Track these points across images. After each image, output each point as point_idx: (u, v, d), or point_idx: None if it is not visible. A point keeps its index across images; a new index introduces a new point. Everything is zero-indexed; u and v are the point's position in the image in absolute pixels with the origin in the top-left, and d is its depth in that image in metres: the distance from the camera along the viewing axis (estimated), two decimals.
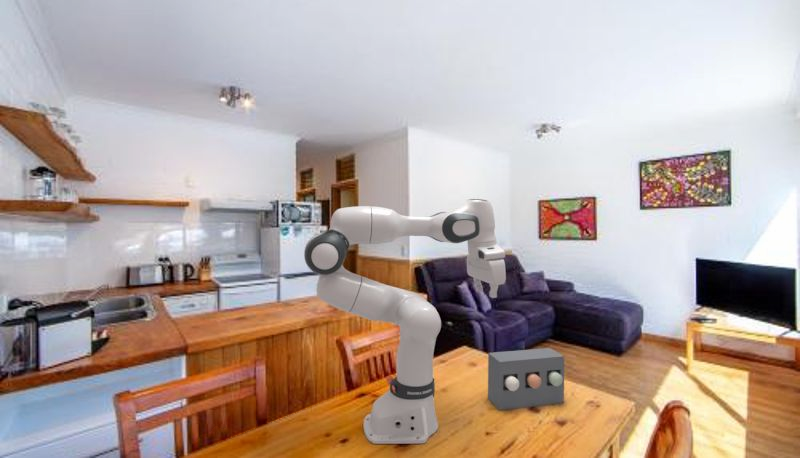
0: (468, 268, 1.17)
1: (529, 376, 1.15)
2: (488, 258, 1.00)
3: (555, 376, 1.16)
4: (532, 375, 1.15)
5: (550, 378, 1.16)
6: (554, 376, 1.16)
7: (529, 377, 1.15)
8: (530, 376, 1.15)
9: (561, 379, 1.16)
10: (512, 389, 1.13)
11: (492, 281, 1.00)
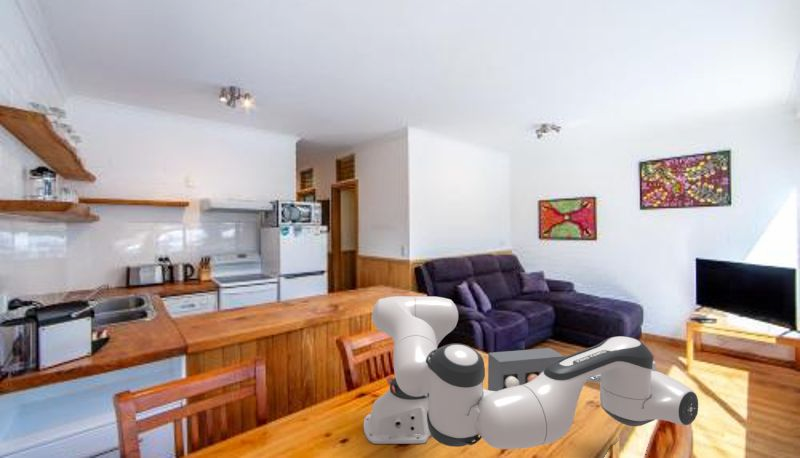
0: None
1: (529, 376, 1.15)
2: None
3: None
4: (532, 375, 1.15)
5: None
6: None
7: (529, 377, 1.15)
8: (530, 376, 1.15)
9: None
10: None
11: None
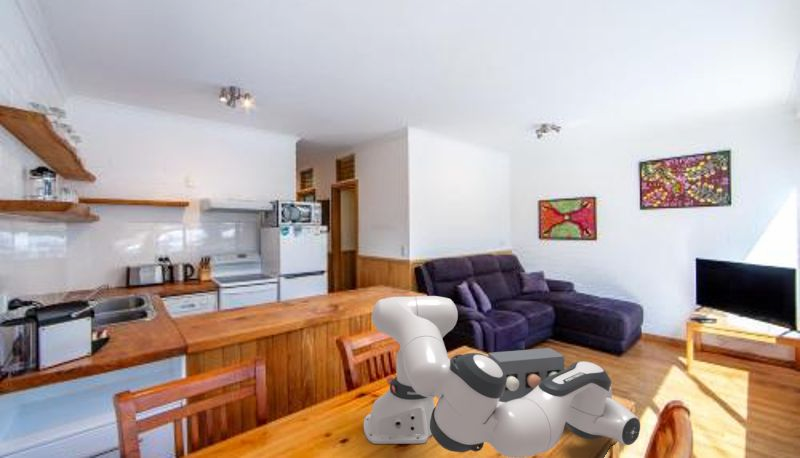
0: None
1: (529, 376, 1.15)
2: None
3: None
4: (532, 375, 1.15)
5: None
6: None
7: (529, 377, 1.15)
8: (530, 376, 1.15)
9: None
10: (512, 389, 1.13)
11: None
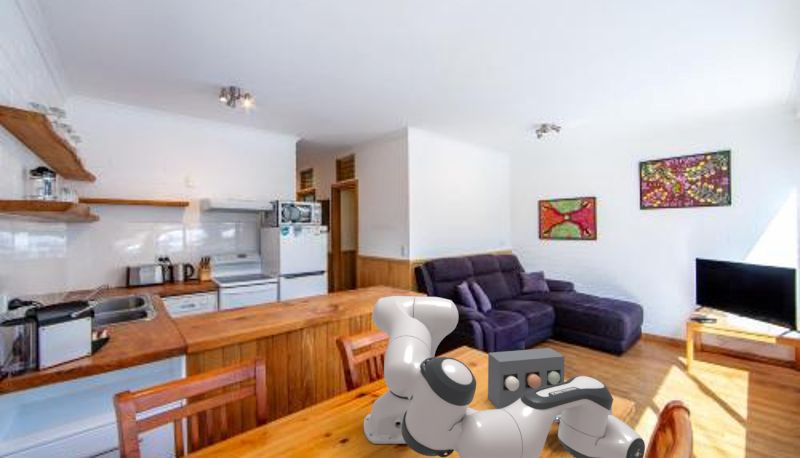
0: None
1: (529, 376, 1.15)
2: None
3: (552, 374, 1.17)
4: (532, 375, 1.15)
5: (547, 376, 1.18)
6: (551, 374, 1.17)
7: (529, 377, 1.15)
8: (530, 376, 1.15)
9: (558, 377, 1.18)
10: (512, 389, 1.13)
11: None
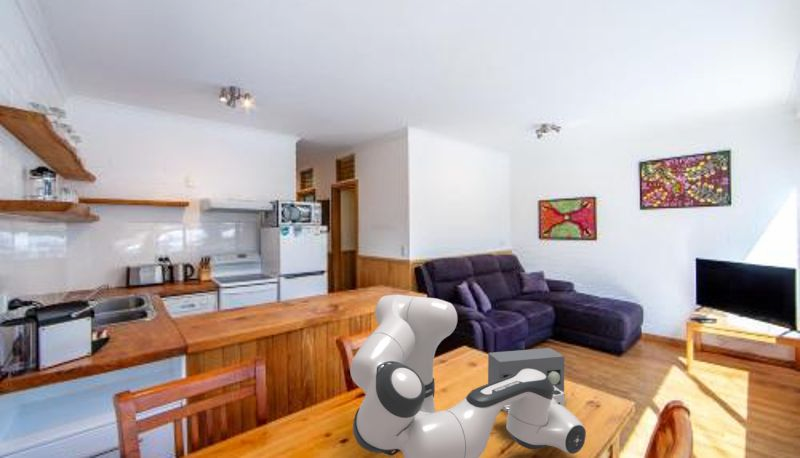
0: None
1: None
2: None
3: (552, 374, 1.17)
4: None
5: (547, 376, 1.18)
6: (551, 374, 1.17)
7: None
8: None
9: (558, 377, 1.18)
10: None
11: None
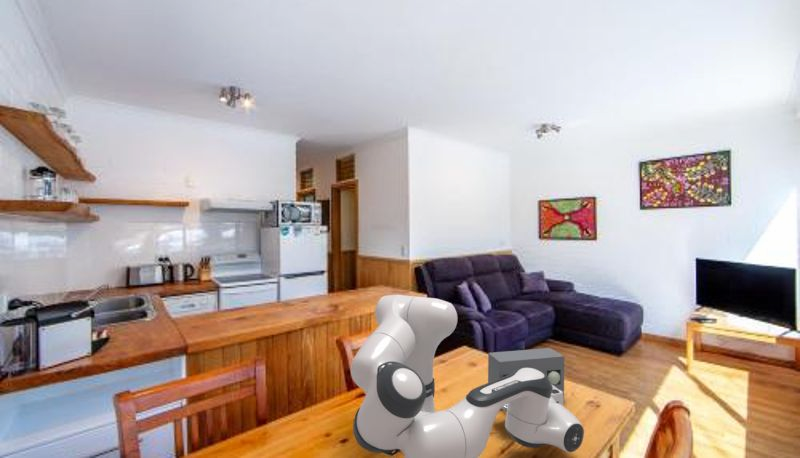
0: None
1: None
2: None
3: (552, 374, 1.17)
4: None
5: (547, 376, 1.18)
6: (551, 374, 1.17)
7: None
8: None
9: (558, 377, 1.18)
10: None
11: None
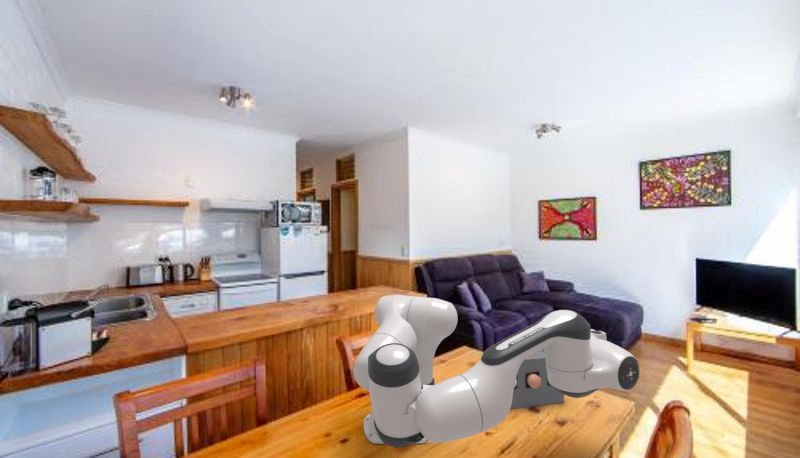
0: None
1: (529, 376, 1.15)
2: None
3: None
4: (532, 375, 1.15)
5: None
6: None
7: (529, 377, 1.15)
8: (530, 376, 1.15)
9: None
10: None
11: None
